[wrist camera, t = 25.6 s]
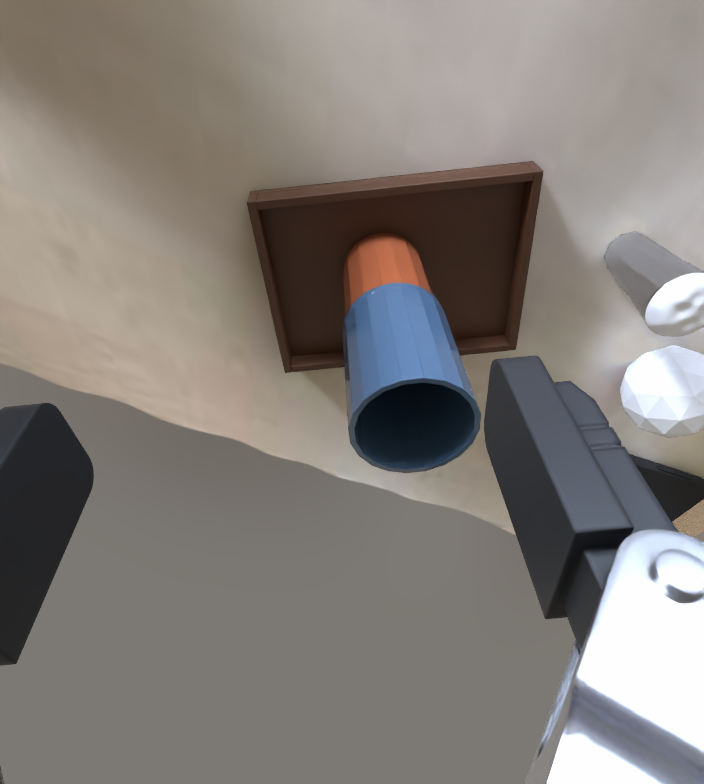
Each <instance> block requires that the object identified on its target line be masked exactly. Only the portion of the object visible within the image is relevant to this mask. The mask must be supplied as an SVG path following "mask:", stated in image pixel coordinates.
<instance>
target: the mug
mask: <svg viewBox="0 0 704 784" xmlns="http://www.w3.org/2000/svg"><path fill="white" fill-rule="evenodd" d="M343 282H344V295H345V308H346V314H347V312H348V310H349V308H350V307H351V305H352V304H353V303H354V302H355V301H356V300H357V299H358V298H359V297H360V296H361V295H363V294H364V293H365V292H367V291H369V290H371V289H373V288H375V287H377V286H381V285H384V284H390V283H408V284H413V285H416V286H419V287H421V288H423V289H425V290H427V291H428V292H430V293H431V294H432V295H433V292H432V289H431V286H430V283H429V280H428V277H427V274H426V272H425V269H424V266H423V263H422V261H421V258H420V256H419V253H418V251H417V250H416V248H415V247H414V245H413V244H412V243H411V242H409V241H408V240H407V239H405V238H403V237H401V236H399V235H396V234H392V233H378V234H373V235H370V236H368V237H365V238H364V239H362V240H360V241H359V242H358V243H356V244H355V245H354V246H353V247H352V249H351V250H350V251H349V253H348V254H347V256H346V259H345V262H344V266H343Z"/></svg>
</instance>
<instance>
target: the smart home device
mask: <svg viewBox="0 0 704 784" xmlns="http://www.w3.org/2000/svg"><path fill="white" fill-rule="evenodd" d="M629 455H630V454H629ZM630 457H631V459H632V460H633V462H634V463H635V465H636V467H637V468H638V470H639V471H640V473H641V474H642V476H643V478H644V479H645V481H646V482H647V484H648V486H649V487H650V489H651V490H652V492H653V494H654V495H655V497H656V498H657V500H658V501H659V503H660V505H661V506H662V508H663V509H664V511H665V513H666V514H667V516H668V517H669V519H670V521H671V522H672V521H674V520H675V519H676V518H678V517H679V516H680V515H682V514H683V513H685V512H686V511H687V510H689V509H690V508H692V507H693V506H694V505H696V504H697V503H699V502H700V501H701V500H703V499H704V479H702V478H701V477H698V476H695V475H692V474H688V473H685V472H682V471H679V470H676V469H673V468H670V467H667V466H664V465H661V464H658V463H655V462H652V461H649V460H646V459H643V458H640V457H636V456H633V455H630Z"/></svg>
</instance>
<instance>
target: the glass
mask: <svg viewBox="0 0 704 784" xmlns="http://www.w3.org/2000/svg"><path fill="white" fill-rule="evenodd" d="M342 335H343V351H344V367H345V383H346V400H347V416H348V430H349V437H350V443H351V445H352V446H353V448H354V449H355V451H356V452H357V454H358V455H359V456H360V457H361V458H362V459H364V460H365V461H367V462H368V463H369V464H371V465H372V466H375V467H378V468H381V469H384V470H387V471H393V472H402V473H411V472H420V471H427V470H430V469H433V468H436V467H439V466H443V465H445V464H447V463H448V462H450V461H452V460H454V459H455V458H457V457H459V456H460V455H461V454H462V453H463V452H464V451H465V450H466V449H467V448H468V447H469V446H470V445H471V444H472V443H473V441H474V439H475V438H476V436H477V434H478V432H479V429H480V421H481V413H480V410H479V407H478V404H477V402H476V399H475V396H474V393H473V390H472V388H471V385H470V382H469V379H468V376H467V374H466V371H465V368H464V365H463V362H462V360H461V357H460V354H459V351H458V349H457V346H456V343H455V340H454V337H453V335H452V332H451V329H450V326H449V323H448V321H447V318H446V315H445V313H444V310H443V308H442V306H441V304H440V302H439V301H438V300H437V299H436V297H435V296H434V295H432V294H431V293H430V292H428V291H427V290H425V289H423V288H421V287H419V286H416V285H413V284H408V283H390V284H384V285H381V286H377V287H375V288H373V289H371V290H369V291H367V292H365V293H364V294H363V295H361V296H360V297H359V298H358V299H357V300H356V301H355V302H354V303H353V304H352V305H351V307H350V308H349V310H348V312H347V314H346V316H345V319H344V323H343V334H342Z"/></svg>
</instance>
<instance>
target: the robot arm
mask: <svg viewBox="0 0 704 784" xmlns="http://www.w3.org/2000/svg"><path fill="white" fill-rule="evenodd" d="M484 433H485V441H486V447H487V451H488V454H489V457H490V460H491V463H492V466H493V469H494V472H495V475H496V478H497V481H498V483H499V486H500V489H501V492H502V495H503V498H504V501H505V504H506V507H507V510H508V512H509V515H510V518H511V521H512V524H513V527H514V530H515V533H516V536H517V539H518V541H519V544H520V547H521V550H522V553H523V556H524V559H525V561H526V565H527V568H528V570H529V573H530V576H531V579H532V582H533V585H534V588H535V591H536V593H537V597H538V600H539V602H540V605H541V608H542V611H543V614H544V617H545V619H552V618H563V617H568V620H569V623H570V625H571V628H572V631H573V633H574V636H575V638H576V640H575V642H574V645H573V647H572V650H571V653H570V656H569V659H568V662H567V665H566V668H565V671H564V674H563V677H562V679H561V683H560V685H559V688H558V691H557V694H556V697H555V700H554V703H553V706H552V708H551V712H550V714H549V717H548V720H547V723H546V726H545V729H544V732H543V735H542V738H541V741H540V744H539V746H538V749H537V752H536V755H535V758H534V760H533V763H532V766H531V768H530V771H529V773H528V776H527V778H526V781H525V783H524V784H704V543H703V542H701V541H700V540H698V539H696V538H693V537H691V536H689V535H686V534H683V533H680V532H679V531H678V530H677V529H676V528H675V526H674V525H673V523H672V522H671V521H670V519H669V517H668V516H667V514H666V513H665V511H664V509H663V508H662V506H661V505H660V503H659V501H658V500H657V498H656V497H655V495H654V494H653V492H652V490H651V489H650V487H649V486H648V484H647V482H646V481H645V479H644V478H643V476H642V474H641V473H640V471H639V470H638V468H637V467H636V465H635V463H634V462H633V460H632V459H631V457H630V455H629V454H628V452H627V451H626V449H625V447H622V446H621V441H620V440H619V438H618V436H617V435H616V433H615V432H614V430H613V428H612V427H609V422H608V421H607V419H606V417H605V416H604V414H603V413H602V411H601V409H600V408H599V406H598V405H597V403H596V401H595V400H594V399H593V398H592V397H590V396H589V395H588V394H586V393H585V392H584V391H582V390H581V389H580V388H578V387H577V386H576V385H575V384H573V383H572V382H571V381H565V382H555V383H554V382H553V380H552V379H551V377H550V375H549V373H548V371H547V370H546V368H545V366H544V364H543V362H542V361H541V359H540V358H539V357H538V356H526V357H516V358H506V359H496V360H494V361H493V362H492V364H491V369H490V376H489V385H488V393H487V402H486V410H485V419H484ZM93 476H94V475H93V466H92V463H91V460H90V458H89V456H88V455H87V453H86V451H85V450H84V448H83V447H82V445H81V444H80V442H79V441H78V439H77V437H76V436H75V434H74V433H73V431H72V429H71V428H70V426H69V425H68V423H67V422H66V420H65V419H64V417H63V415H62V414H61V412H60V411H59V410H58V409H57V407H56V406H54V405H52V404H50V403H42V404H32V405H22V406H12V407H5V408H3V409H1V410H0V665H10V664H16V663H17V661H18V659H19V656H20V654H21V652H22V649H23V647H24V645H25V642H26V640H27V638H28V635H29V633H30V631H31V628H32V626H33V623H34V622H35V619H36V617H37V615H38V612H39V610H40V608H41V605H42V603H43V601H44V598H45V596H46V594H47V591H48V589H49V587H50V585H51V582H52V580H53V578H54V575H55V573H56V571H57V568H58V566H59V564H60V561H61V559H62V557H63V554H64V552H65V550H66V547H67V545H68V543H69V540H70V538H71V536H72V534H73V531H74V529H75V527H76V524H77V522H78V520H79V517H80V515H81V513H82V511H83V508H84V506H85V504H86V501H87V499H88V497H89V494H90V492H91V489H92V486H93ZM0 784H4V781H3V777H2V772H1V768H0Z"/></svg>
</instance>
